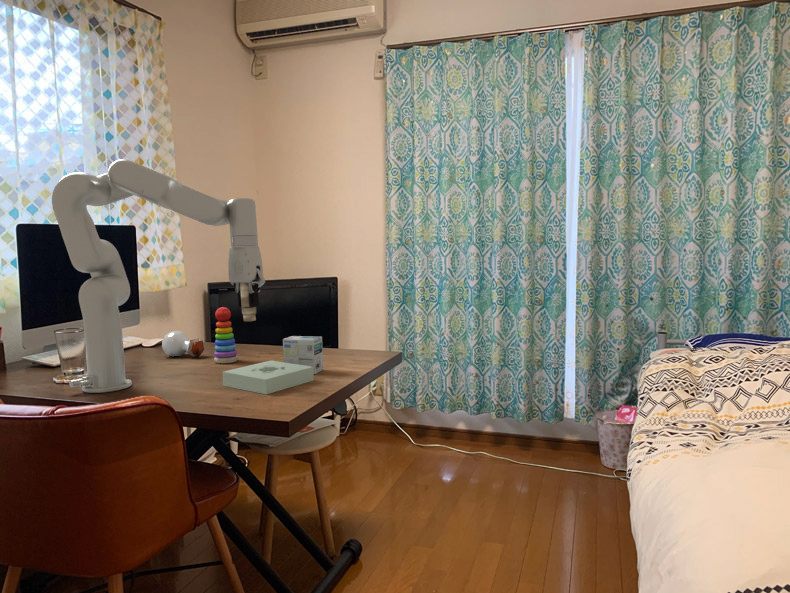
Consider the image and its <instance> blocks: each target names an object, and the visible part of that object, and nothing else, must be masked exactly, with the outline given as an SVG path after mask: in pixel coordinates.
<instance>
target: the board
mask: <svg viewBox="0 0 790 593" xmlns="http://www.w3.org/2000/svg"><path fill="white" fill-rule="evenodd" d="M314 375H315V374H314V370H313V367H311V366H305V365H298V364H291V363H285V362H284V361H277V360H268V361H263V362H259V363H254V364H250V365H246V366H240V367H238V368H232V369H229V370H225V371H224V370H223V371H222V386H223V387H228V388H232V389H238V390H241V391H242V390H243V391H248V392H252V393H258V394H262V395H268V394H272V393H275V392H276V393H277V392H279V391H282V390H286V389H290V388H292V387H293V388H294V387H296V386H300V385H304V384H306V383H309V382H313V381H315V376H314Z"/></svg>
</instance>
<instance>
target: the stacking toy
mask: <svg viewBox="0 0 790 593" xmlns="http://www.w3.org/2000/svg"><path fill="white" fill-rule="evenodd" d="M214 313H215V314H214V315H215V319H216V320H217V322H216V323H215V327H217V328H215V330H214V331H215V333H216V334H215V336H214V337H215V340H214V344H215V346H214V350H215V351H214V353H213V356H214V358H213V362H214V363H215V364H220V363H221V364H220V365H222V364H224V365H226V364H232V363H236V362H237V361H238V360H239V356H238V355H237V354H238V351H237V350H236V349H237V345H236V344H235V343H236V340H235V338H234V333H233V327H231V326H232V322H231V320H230V318H231V316H232V313H231V311H230V309H229V308H228V307H224V306H222V307H218V308H217V309H216V311H215V312H214ZM225 363H226V364H225Z"/></svg>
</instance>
